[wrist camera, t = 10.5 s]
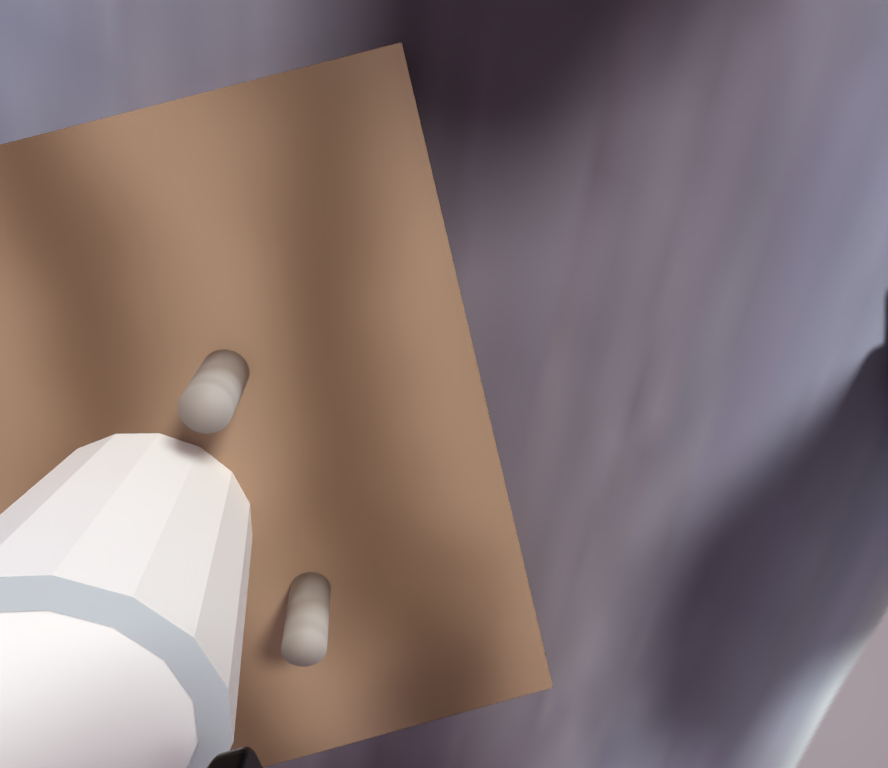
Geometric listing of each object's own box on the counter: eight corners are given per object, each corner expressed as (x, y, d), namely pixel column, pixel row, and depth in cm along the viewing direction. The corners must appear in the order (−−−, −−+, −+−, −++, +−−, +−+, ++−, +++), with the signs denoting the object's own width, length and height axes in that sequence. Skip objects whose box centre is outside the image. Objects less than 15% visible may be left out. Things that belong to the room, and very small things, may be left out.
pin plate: (398, 46, 16) (409, 28, 13) (545, 665, 24) (574, 751, 21) (-430, 258, 16) (-631, 294, 13) (-14, 819, 23) (-74, 931, 20)
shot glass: (322, 489, 19) (302, 678, 13) (199, 656, 21) (127, 899, 14) (88, 362, 17) (-76, 509, 11) (-28, 557, 19) (-233, 790, 12)
